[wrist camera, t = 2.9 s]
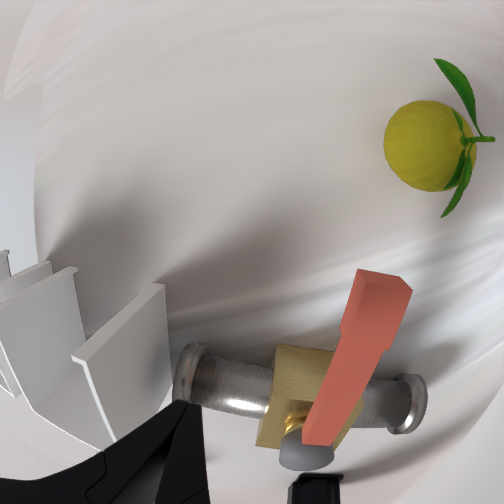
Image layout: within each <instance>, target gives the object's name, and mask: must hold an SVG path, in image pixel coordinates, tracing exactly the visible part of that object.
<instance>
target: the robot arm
mask: <svg viewBox="0 0 504 504" xmlns="http://www.w3.org/2000/svg"><path fill="white" fill-rule="evenodd" d="M343 478H344V476H343V475H310V474H301V475H299V476H298V478H297V479H296V480H295V482H293V483H292V484H291V485H290V487H289V488H288V500H287V504H340V487H339V482H340V481H341V480H342V479H343ZM154 502H155V503H154ZM0 504H210V497H209V490H208V480H207V471H206V460H205V448H204V435H203V420H202V406H201V405H199V404H195V403H189V402H188V401H185V400H181V399H176V400H175V401H173V402H172V403H171V404H169V405H168V406H167V407H165V408H164V409H163V410H161V411H160V412H158V413H157V414H156V415H154V416H153V417H151V418H150V419H149V420H147V421H146V422H144V423H143V424H142V425H140V426H139V427H137V428H136V429H134V430H133V431H131V432H130V433H128V434H127V435H125V436H124V437H122V438H121V439H119V440H118V441H116V442H115V443H113V444H112V445H110V446H109V447H107V448H106V449H104V451H101V452H99V453H97V454H96V455H94V456H93V457H91V458H89V459H87V460H85V461H84V462H82V463H79V464H77V465H75V466H73V467H70V468H68V469H65V470H63V471H60V472H58V473H55V474H52V475H50V476H47V477H44V478H41V479H37V480H15V479H7V478H0Z"/></svg>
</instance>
